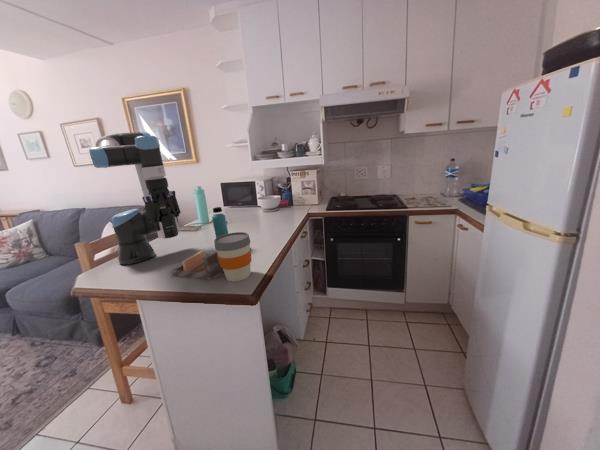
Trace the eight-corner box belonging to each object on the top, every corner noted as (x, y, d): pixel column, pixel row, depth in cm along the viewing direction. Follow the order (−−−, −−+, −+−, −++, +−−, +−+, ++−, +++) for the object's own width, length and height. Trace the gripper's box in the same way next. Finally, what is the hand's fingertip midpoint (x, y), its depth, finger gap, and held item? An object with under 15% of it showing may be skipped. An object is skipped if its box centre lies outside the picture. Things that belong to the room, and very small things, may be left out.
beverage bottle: (226, 243, 137) (219, 205, 132) (233, 245, 133) (226, 206, 127) (215, 247, 133) (207, 208, 128) (221, 249, 128) (213, 209, 123)
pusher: (184, 273, 103) (181, 261, 102) (203, 261, 113) (201, 250, 111) (187, 273, 103) (184, 261, 101) (205, 261, 112) (203, 250, 111)
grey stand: (172, 276, 104) (167, 255, 101) (197, 261, 116) (193, 243, 114) (211, 279, 97) (207, 258, 95) (233, 263, 109) (230, 244, 107)
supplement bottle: (171, 238, 104) (164, 208, 101) (156, 239, 105) (149, 209, 102) (182, 233, 110) (175, 205, 107) (168, 233, 112) (161, 206, 109)
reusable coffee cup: (260, 268, 102) (254, 231, 98) (247, 284, 91) (240, 243, 87) (231, 268, 105) (224, 232, 101) (214, 283, 94) (206, 243, 90)
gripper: (139, 181, 91) (156, 243, 98) (182, 174, 109) (193, 227, 115) (124, 182, 94) (141, 243, 100) (168, 175, 112) (180, 227, 118)
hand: (169, 234), depth 108 cm, fingers closed on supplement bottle, 7 cm apart
